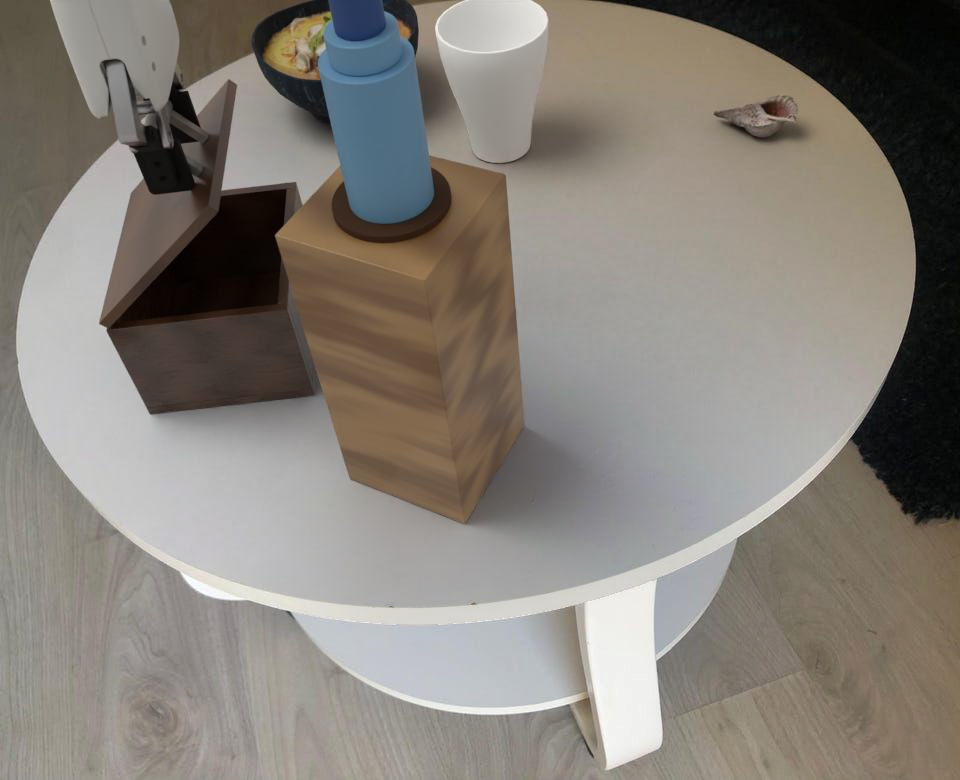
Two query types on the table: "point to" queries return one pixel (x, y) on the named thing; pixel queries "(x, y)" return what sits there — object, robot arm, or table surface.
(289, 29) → the bowl
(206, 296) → the brown wooden box
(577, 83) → the table surface
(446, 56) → the cup
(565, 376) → the table surface
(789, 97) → the seashell
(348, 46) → the bottle
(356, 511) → the table surface
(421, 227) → the coaster
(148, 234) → the wooden box lid
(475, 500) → the stand
